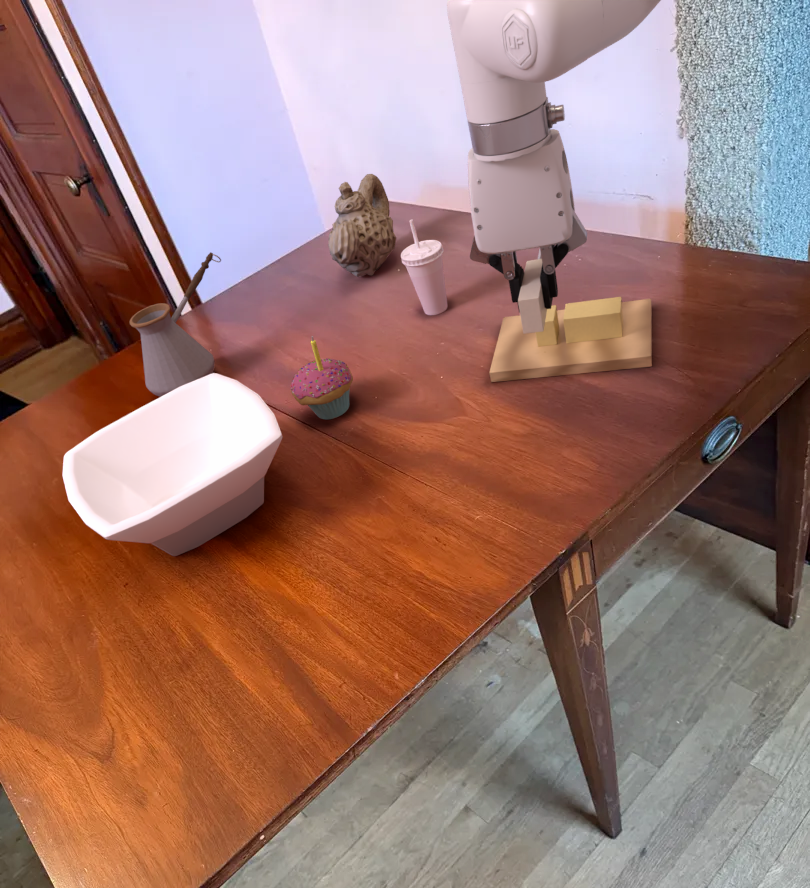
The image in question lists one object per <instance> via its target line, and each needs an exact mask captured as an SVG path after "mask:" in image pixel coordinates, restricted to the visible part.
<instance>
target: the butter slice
mask: <svg viewBox="0 0 810 888" xmlns="http://www.w3.org/2000/svg"><path fill="white" fill-rule="evenodd" d="M557 310H558V307H557V305H556V304H552V306H551V309H547V314H546V320H545V326H544V331H542V332H536V338H537V344H538V347H539V346H548V345H556V344H557V341H558V334H559V322H558V314H557Z"/></svg>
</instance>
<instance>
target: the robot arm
mask: <svg viewBox="0 0 810 888" xmlns="http://www.w3.org/2000/svg"><path fill="white" fill-rule="evenodd" d="M661 1H662V0H447V3H446V11H447V12H446V13H447V17H448V23H449V29H450V35H451V39H452V40H451V41H452V46H453V52H454V57H455V61H456V66H457V71H458V72H457V73H458V77H459V83H460V88H461V94H462V99H463V103H464V109H465V114H466V115H465V116H466V119H467V126H468V131H469V137H470V141H471V146H472V147H471V148H470V149H469V150H468V153H467V184H468V195H469V196H468V197H469V205H470V206H469V207H470V215H471V222H472V229H473V240H472V244H471V248H470V252H469V259H470V260H471V261H473V262H476V263H480V264H483V265H489V266H490V267H492V268H493V269H495V270H496V271H498V272H499V273H500V274H502V275H503V277H504V279H505V280H507V281H508V284H509V285H508V286H509V291H510V296H511V301H512V303H514V304H515V303H517V308H518V313H519V314H520V310H519V304H518V298H519V294H520V289H521V286H522V282H523V277H524V271H525V268H523V267H522V266H521V264H519V261H518V255H517V252H518V251H525V250H531V249H538V248H539V249H540V251H541V257H542V268H541V274H540V282H541V286H542V293H543V299H544V306H545V308H546V309H551V306H553V300H554V298H558V295H559V289H558V288H559V287H558V279H557V273H556V269H557V267H558V266H559V265H560V264H561V262H562V261H563V260H564V259H565V257H567V255H568V253H570V252H571V251H574V250H576V249H578V248H579V247H581V246H583V245H584V244H586V243H587V240H588V230H587V229H586V227H585V226H584V224H583V223H582V221H581V219H580V217H579V216H578V214H577V213H576V208H575V199H574V192H573V185H572V179H571V175H570V170H569V168H570V167H569V163H568V159H567V154H566V150H565V146H564V143H563V140H562V137H561V134H560V131H559V130H558V129H556V128H553V126H554V125H558V124H557V123H559V122H563V121H566V120H565V118H566V115H565V114H566V113H565V106H564V104H559V105H556V104H552V102H550V101H549V97H548V96H547V90H546V82H549V81H553V80H555V79H557V78H559V77H561V76H563V75H564V74H566V73H568V72H570V71H572V70H573V69H574V68H576V67H578V66H579V65H581V64H583V63H584V62H586V61H587V60H588V59H590V58H592V57H593V56H596V55H597V54H599V53H600V52H602V51H605V49H607V48H608V47H610V46H613V45H614V44H616V43H617V42H619V41H622V40H623V39H624V38H625V37H627V36H628V35H630V34H631V33H632V32H633V31H634V30H635V29H636V28H637V27H638V26H639V25H641V23H643V21H644V20H645V19H646V18H647V17H648V16H649V15H650V14H651V13H652V11H653V10H654V9H655V8H656V7H657V6H658V5H659V4H660V2H661Z"/></svg>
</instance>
